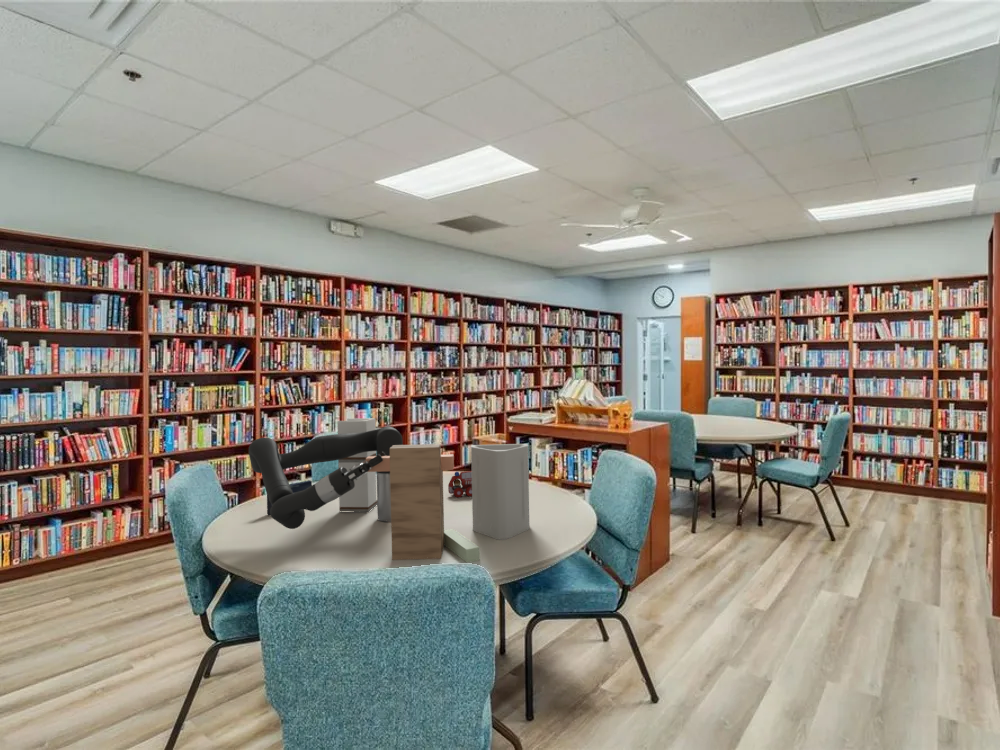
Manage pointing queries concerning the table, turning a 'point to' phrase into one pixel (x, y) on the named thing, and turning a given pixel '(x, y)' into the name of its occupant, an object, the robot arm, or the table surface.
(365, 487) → the banded white pillar
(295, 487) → the vhs cassette tape
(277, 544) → the table surface
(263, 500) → the table surface
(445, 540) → the sage peg
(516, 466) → the grey triangular vase
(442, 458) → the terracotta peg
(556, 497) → the table surface
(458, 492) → the toy fire truck
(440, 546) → the walnut stand
